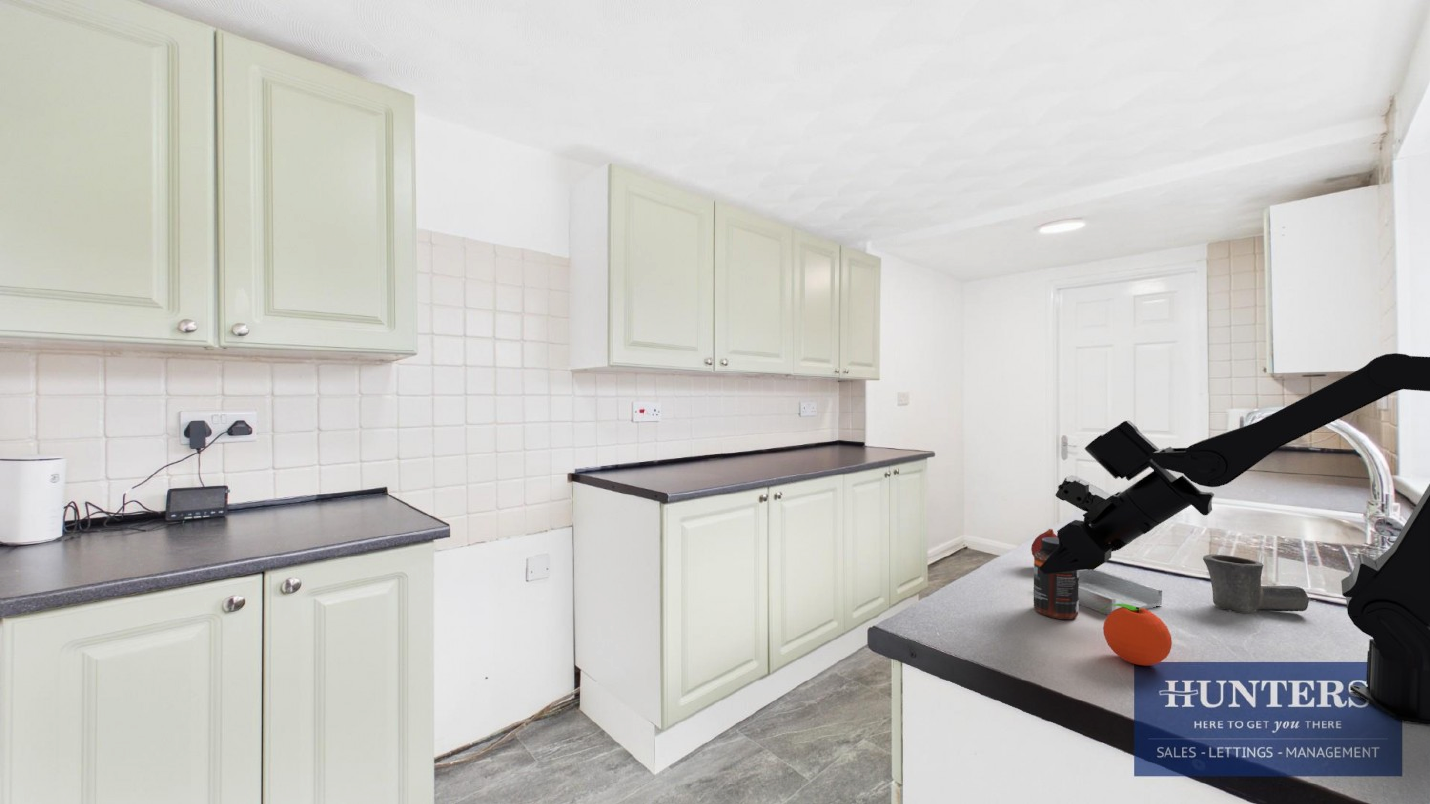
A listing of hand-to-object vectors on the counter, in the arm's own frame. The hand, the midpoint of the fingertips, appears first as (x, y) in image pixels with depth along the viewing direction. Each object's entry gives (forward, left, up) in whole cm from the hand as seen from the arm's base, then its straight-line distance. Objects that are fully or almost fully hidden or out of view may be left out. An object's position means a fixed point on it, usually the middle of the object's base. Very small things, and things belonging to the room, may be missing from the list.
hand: (1052, 564), depth 85 cm
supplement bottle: (0, -1, -8) cm, 8 cm away
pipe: (+10, -30, -8) cm, 33 cm away
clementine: (-14, -5, -8) cm, 17 cm away
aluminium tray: (+9, -10, -7) cm, 15 cm away
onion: (+22, -6, -8) cm, 24 cm away
